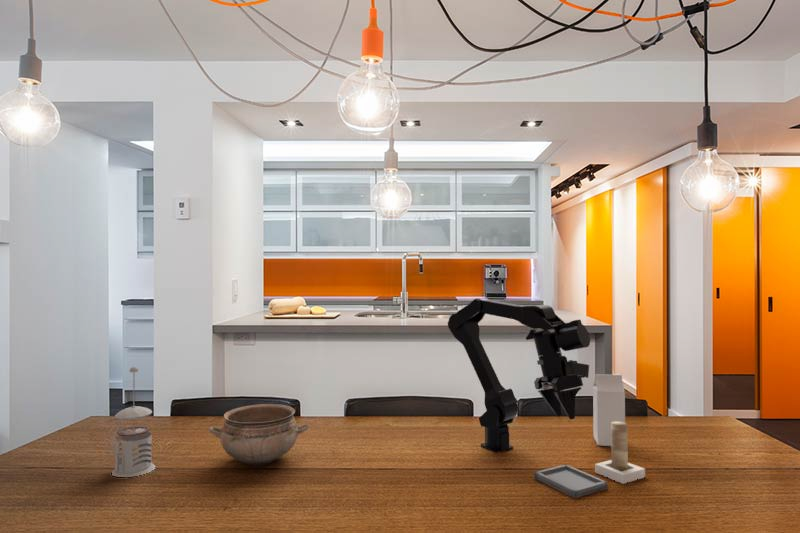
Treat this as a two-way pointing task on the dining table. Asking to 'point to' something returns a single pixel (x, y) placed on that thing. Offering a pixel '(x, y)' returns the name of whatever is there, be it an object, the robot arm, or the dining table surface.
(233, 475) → the dining table surface
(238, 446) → the cooking pot
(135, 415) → the french press
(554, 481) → the tray
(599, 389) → the milk carton
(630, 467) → the socket
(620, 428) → the dowel
